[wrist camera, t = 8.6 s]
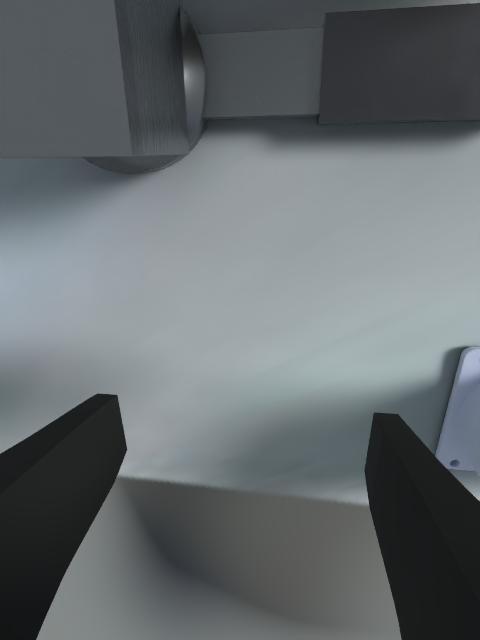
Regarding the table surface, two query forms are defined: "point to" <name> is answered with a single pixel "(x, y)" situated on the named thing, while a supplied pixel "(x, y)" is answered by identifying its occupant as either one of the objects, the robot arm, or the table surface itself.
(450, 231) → the table surface
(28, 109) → the grey brushed cube
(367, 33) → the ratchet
